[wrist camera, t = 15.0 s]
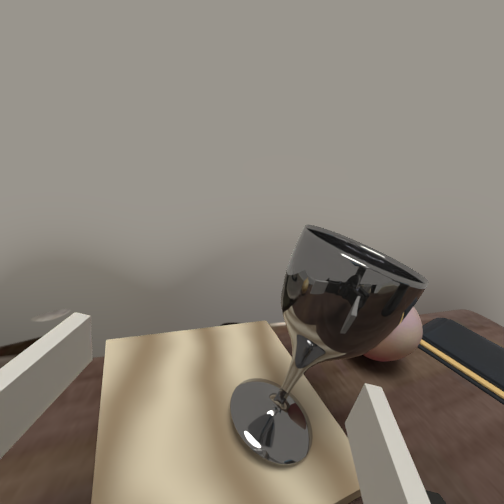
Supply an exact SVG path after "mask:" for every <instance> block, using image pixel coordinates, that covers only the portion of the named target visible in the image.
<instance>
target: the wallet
mask: <svg viewBox="0 0 504 504" xmlns="http://www.w3.org/2000/svg"><path fill="white" fill-rule="evenodd" d="M422 328H423V335H422V339H421V342H420V343H419V345H418V348H419V349H421V350H423V351H424V352H426V353H427V354H429V355H430V356H432V357H433V358H435V359H436V360H438V361H439V362H441V363H442V364H444V365H445V366H447V367H448V368H450V369H451V370H453V371H454V372H456V373H457V374H459V375H460V376H462V377H463V378H465V379H466V380H468V381H469V382H471V383H472V384H474V385H475V386H477V387H478V388H480V389H481V390H483V391H484V392H486V393H487V394H489V395H490V396H492V397H493V398H495V399H496V400H498V401H499V402H500V403H502V404H503V405H504V348H502V347H500V346H498V345H497V344H495V343H493V342H491V341H489V340H487V339H486V338H484V337H482V336H480V335H478V334H476V333H475V332H473V331H471V330H469V329H467V328H465V327H464V326H462V325H460V324H458V323H456V322H454V321H453V320H451V319H450V320H448V319H446V318H436V319H433V320H432V321H430V322H428V323H426V324H425V325H423V326H422Z"/></svg>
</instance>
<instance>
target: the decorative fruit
mask: <svg viewBox="0 0 504 504" xmlns="http://www.w3.org/2000/svg"><path fill="white" fill-rule="evenodd" d="M422 335H423V328H422V323H421V320H420V317H419V315H418V313H417V311H416V309H415V308H414V307H413V308H412V309H411V310H410V312H409V313H408V314H407V316H406V317H405V318H404V320H403V321H402V322H401V323H400V324H399V325H398V326H397V327H396V329H395V330H394V331H393V332H392V333H391V334H390V335H389V336H388V337H387V338H386V339H384V340H383V341H382V342H381V343H380V344H379V345H377V346H376V347H375V348H374V349H372V350H370V351H369V352H367V353H366V354H363V355H364V356H366V357H367V358H370V359H372V360H375V361H381V362H385V361H394V360H398V359H401V358H403V357H405V356H407V355H409V354H411V353H412V352H413V351H414V350H415V349H416V348H417V347H418V345H419V343H420V342H421V339H422Z"/></svg>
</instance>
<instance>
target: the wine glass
mask: <svg viewBox="0 0 504 504" xmlns="http://www.w3.org/2000/svg"><path fill="white" fill-rule="evenodd" d="M428 283H429V282H428V280H427V279H425V277H423V276H422V275H420V274H419V273H417V272H416V271H414V270H413V269H411V268H409V267H408V266H406V265H404V264H402V263H400V262H398V261H397V260H395V259H393V258H391V257H389V256H387V255H385V254H383V253H381V252H379V251H377V250H375V249H373V248H370V247H368V246H366V245H364V244H361V243H359V242H357V241H355V240H352V239H350V238H348V237H345V236H343V235H340V234H338V233H335V232H332V231H329V230H327V229H324V228H321V227H317V226H312V225H305V227H304V229H303V230H302V232H301V234H300V237H299V239H298V241H297V243H296V245H295V248H294V250H293V253H292V255H291V258H290V260H289V264H288V267H287V271H286V274H285V278H284V284H283V289H282V293H281V307H282V312H283V317H284V320H285V323H286V326H287V329H288V332H289V335H290V338H291V342H292V360H291V364H290V367H289V370H288V372H287V375H286V377H285V380H284V382H283V384H282V386H281V385H279V384H277V383H275V382H273V381H270V380H267V379H262V378H253V379H248V380H245V381H243V382H242V383H240V384H239V385H238V386H237V387H236V388H235V390H234V391H233V393H232V396H231V400H230V413H231V418H232V421H233V424H234V426H235V429H236V431H237V432H238V434H239V436H240V437H241V439H242V440H243V441H244V442H245V444H246V445H247V446H248V447H249V448H250V449H251V450H252V451H253V452H255V453H256V454H257V455H259V456H260V457H262V458H264V459H266V460H268V461H270V462H273V463H276V464H281V465H291V464H295V463H298V462H300V461H301V460H303V459H304V458H305V457H306V456H307V454H308V453H309V451H310V449H311V446H312V440H313V434H312V427H311V423H310V420H309V417H308V415H307V413H306V411H305V409H304V408H303V406H302V405H301V403H300V402H299V401H298V400H297V399H296V397H295V396H294V395H293V394H292V393H290V392H291V390H292V389H293V387H294V386H295V384H296V383H297V382H298V380H299V379H300V378H301V377H302V375H303V374H304V373H305V372H306V371H307V370H308V369H309V368H310V367H312V366H314V365H316V364H318V363H321V362H324V361H332V360H339V359H347V358H353V357H357V356H360V355H363V354H366V353H367V352H369V351H370V350H372V349H374V348H375V347H376V346H377V345H379V344H380V343H381V342H382V341H383V340H384V339H386V338H387V337H388V336H389V335H390V334H391V333H392V332H393V331H394V330H395V329H396V327H397V326H398V325H399V324H400V323H401V322H402V321H403V320H404V318H405V317H406V316H407V314H408V313H409V312H410V310H411V309H412V308H413V306H414V305H415V304H416V302H417V301H418V299H419V298H420V296H421V295H422V293H423V291H424V290H425V288H426V287H427V285H428Z"/></svg>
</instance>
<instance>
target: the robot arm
mask: <svg viewBox="0 0 504 504" xmlns="http://www.w3.org/2000/svg"><path fill="white" fill-rule="evenodd" d="M91 361H92V338H91V316H89V315H85V314H81V313H76V312H75V313H73V314H72V315H71V316H70V317H68V318H67V319H66V320H64V321H63V322H62V323H60V324H59V325H58V326H56V327H55V328H54V329H52V330H51V331H50V332H49V333H47V334H46V335H44V336H43V337H42V338H40V339H39V340H38V341H36V342H35V343H34V344H32V345H31V346H30V347H29V348H27V349H26V350H25V351H23V352H22V353H21V354H19V355H18V356H17V357H15V358H14V359H13V360H11V361H10V362H9V363H7V364H6V365H5V366H3V367H2V368H1V369H0V459H1V458H2V457H3V456H4V454H5V453H6V452H7V451H8V450H9V449H10V448H11V447H12V446H13V445H14V444H15V443H16V442H17V440H18V439H19V438H20V437H21V436H22V435H23V434H24V433H25V432H26V431H27V430H28V429H29V428H30V427H31V425H32V424H33V423H34V422H35V421H36V420H37V419H38V418H39V417H40V416H41V415H42V414H43V413H44V411H45V410H46V409H47V408H48V407H49V406H50V405H51V404H52V403H53V402H54V401H55V400H56V399H57V397H58V396H59V395H60V394H61V393H62V392H63V391H64V390H65V389H66V388H67V387H68V386H69V385H70V383H71V382H72V381H73V380H74V379H75V378H76V377H77V376H78V375H79V374H80V373H81V372H82V371H83V369H84V368H85V367H86V366H87V365H88V364H89V363H90V362H91ZM345 426H346V431H347V435H348V439H349V444H350V448H351V452H352V457H353V461H354V465H355V470H356V474H357V478H358V483H359V487H360V491H361V496H362V500H363V504H446V502H445V501H444V500H443V498H442V497H441V496H440V494H438V493H434V492H430V491H427V490H425V489H424V486H423V484H422V482H421V479H420V477H419V475H418V472H417V470H416V467H415V465H414V463H413V460H412V458H411V456H410V453H409V451H408V449H407V446H406V444H405V442H404V439H403V437H402V434H401V432H400V430H399V427H398V425H397V423H396V420H395V418H394V416H393V413H392V411H391V409H390V406H389V404H388V401H387V399H386V397H385V394H384V392H383V390H382V387H378V386H374V385H370V384H366V383H365V384H364V386H363V388H362V390H361V392H360V394H359V396H358V398H357V400H356V402H355V404H354V406H353V408H352V410H351V412H350V414H349V416H348V418H347V420H346V422H345Z"/></svg>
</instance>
